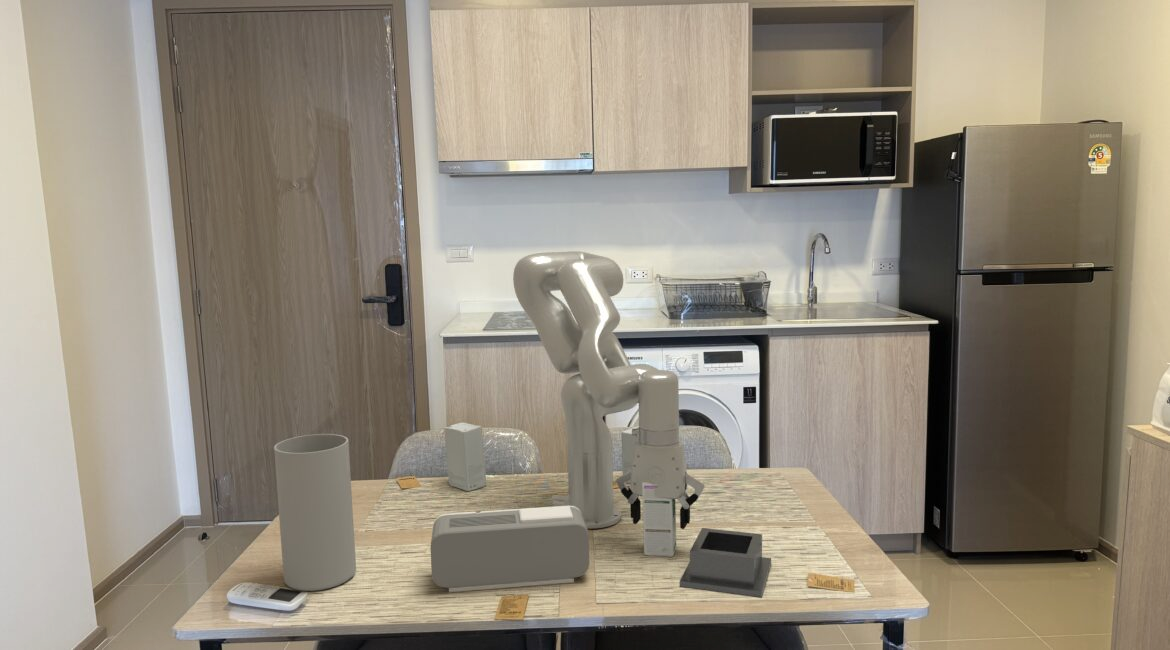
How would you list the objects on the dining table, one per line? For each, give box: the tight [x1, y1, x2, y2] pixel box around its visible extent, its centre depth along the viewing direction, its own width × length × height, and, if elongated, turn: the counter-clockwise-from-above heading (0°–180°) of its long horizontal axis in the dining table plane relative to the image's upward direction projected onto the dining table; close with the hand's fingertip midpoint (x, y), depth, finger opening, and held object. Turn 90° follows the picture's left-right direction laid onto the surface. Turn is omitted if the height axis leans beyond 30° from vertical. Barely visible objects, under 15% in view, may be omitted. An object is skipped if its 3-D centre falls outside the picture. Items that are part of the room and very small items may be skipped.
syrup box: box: [642, 482, 677, 558], centre depth 155 cm, size 6×6×14 cm
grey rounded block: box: [429, 506, 590, 593], centre depth 145 cm, size 27×9×12 cm, turn 98°
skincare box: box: [444, 422, 487, 492], centre depth 195 cm, size 8×6×15 cm
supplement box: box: [621, 425, 639, 484], centre depth 196 cm, size 7×7×13 cm
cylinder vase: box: [273, 433, 357, 592], centre depth 145 cm, size 12×12×25 cm
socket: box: [679, 527, 772, 598], centre depth 144 cm, size 14×14×6 cm
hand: (660, 523), depth 155 cm, fingers open, 8 cm apart
